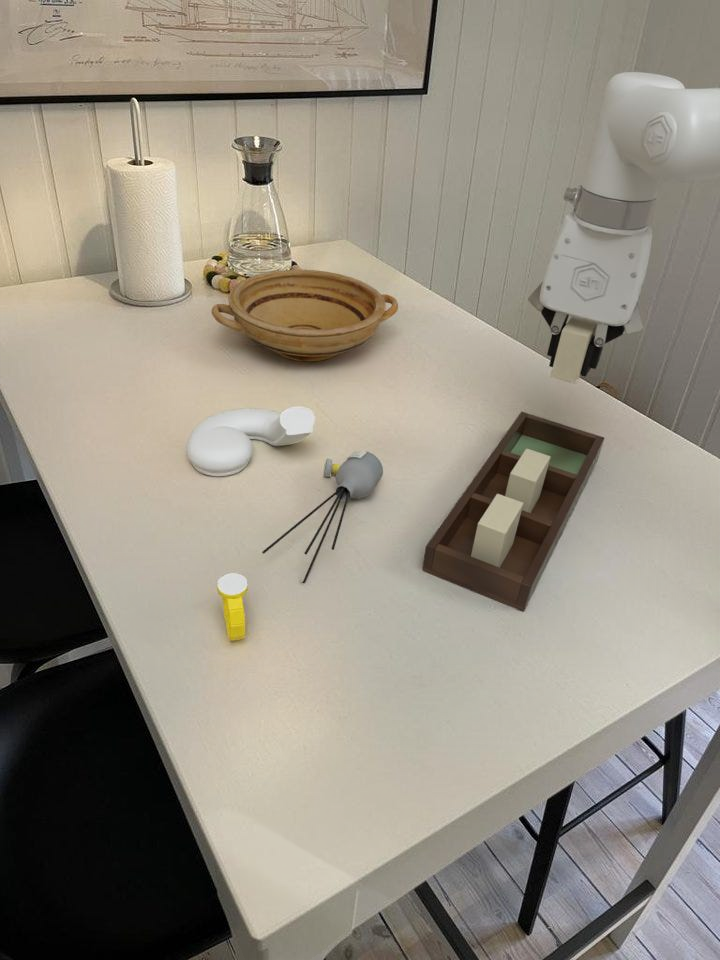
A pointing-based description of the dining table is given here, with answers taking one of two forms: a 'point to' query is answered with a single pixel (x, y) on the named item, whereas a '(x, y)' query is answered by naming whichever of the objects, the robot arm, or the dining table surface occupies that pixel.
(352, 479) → the reed diffuser
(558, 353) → the cream rectangular block
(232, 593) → the watch
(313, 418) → the sculpture
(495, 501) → the block
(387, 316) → the ceramic bowl
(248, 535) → the dining table surface
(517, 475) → the block
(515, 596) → the tray
